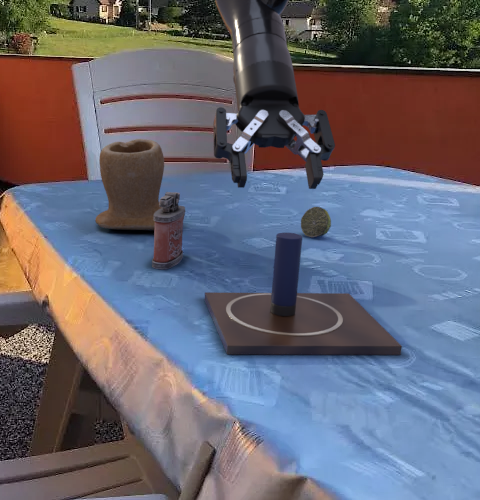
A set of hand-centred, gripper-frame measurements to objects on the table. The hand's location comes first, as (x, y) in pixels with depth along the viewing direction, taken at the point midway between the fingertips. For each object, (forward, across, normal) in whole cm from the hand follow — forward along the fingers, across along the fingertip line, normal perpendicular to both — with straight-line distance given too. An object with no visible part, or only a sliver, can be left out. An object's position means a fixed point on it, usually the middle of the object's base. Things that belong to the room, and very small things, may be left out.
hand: (278, 184), depth 83 cm
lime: (-12, +15, +33) cm, 38 cm away
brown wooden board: (+16, +1, +5) cm, 16 cm away
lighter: (-1, -11, +22) cm, 25 cm away
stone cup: (-14, -14, +35) cm, 40 cm away
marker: (+14, 0, +5) cm, 15 cm away
